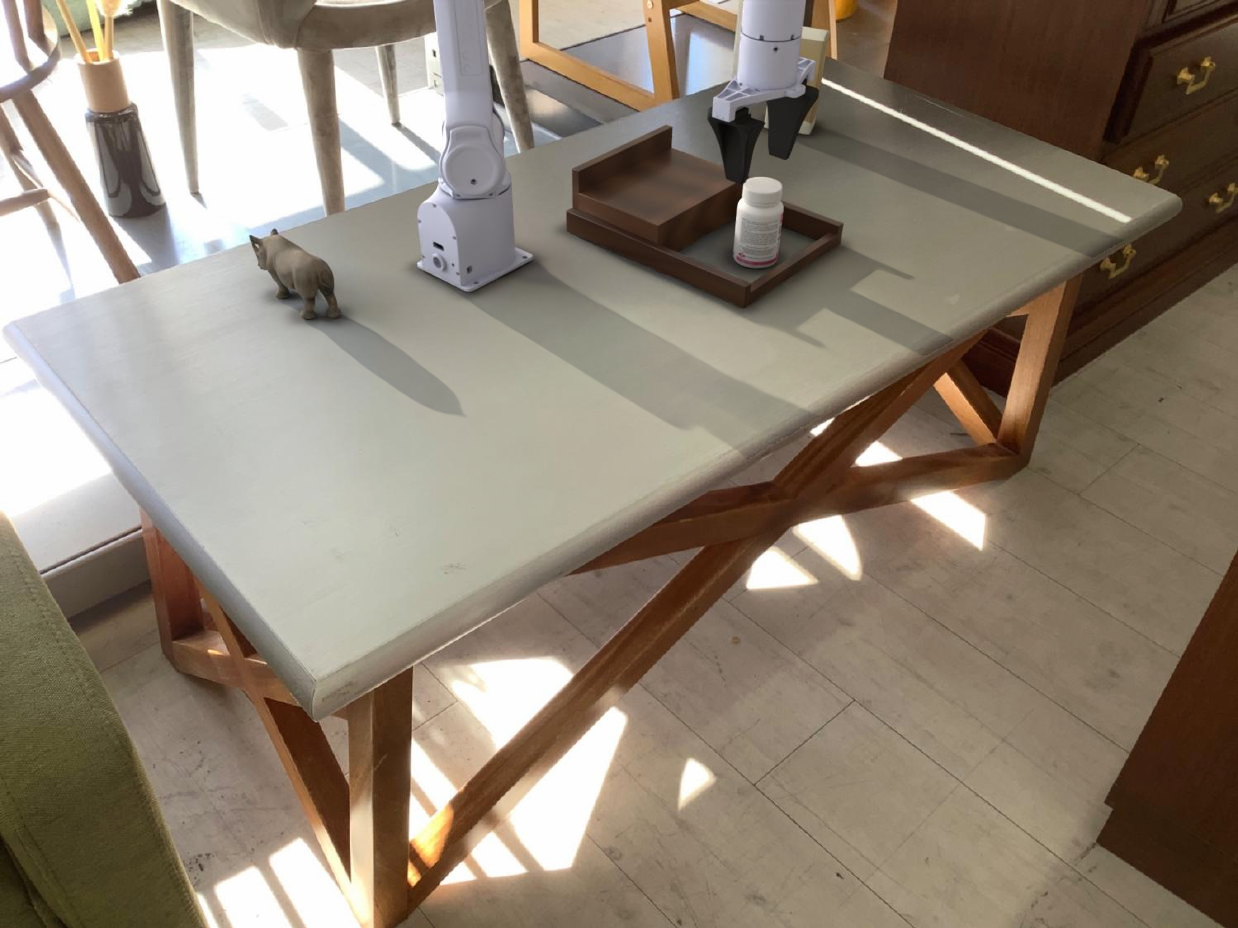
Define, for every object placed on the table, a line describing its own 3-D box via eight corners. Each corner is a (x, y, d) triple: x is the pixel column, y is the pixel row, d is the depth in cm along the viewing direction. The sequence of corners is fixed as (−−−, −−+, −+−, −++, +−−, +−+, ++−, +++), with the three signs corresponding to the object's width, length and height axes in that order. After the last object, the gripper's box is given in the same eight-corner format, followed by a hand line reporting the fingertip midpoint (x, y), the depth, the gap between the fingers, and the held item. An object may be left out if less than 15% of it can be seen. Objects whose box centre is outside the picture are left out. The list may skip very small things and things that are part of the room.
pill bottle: (785, 265, 116) (795, 191, 111) (745, 273, 115) (752, 198, 110) (764, 245, 120) (772, 172, 114) (725, 252, 118) (731, 178, 113)
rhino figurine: (277, 261, 115) (267, 209, 111) (350, 314, 108) (341, 259, 104) (242, 275, 113) (229, 221, 109) (313, 329, 106) (302, 274, 102)
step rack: (743, 308, 110) (750, 245, 105) (566, 231, 122) (565, 171, 117) (840, 244, 120) (850, 184, 116) (668, 178, 132) (671, 122, 128)
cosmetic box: (763, 129, 144) (773, 33, 136) (769, 117, 147) (779, 23, 139) (812, 136, 142) (825, 40, 135) (817, 123, 146) (830, 28, 138)
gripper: (762, 62, 97) (748, 204, 106) (849, 23, 106) (829, 157, 114) (698, 44, 101) (690, 182, 109) (787, 6, 109) (773, 138, 118)
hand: (757, 168), depth 112 cm, fingers open, 7 cm apart
